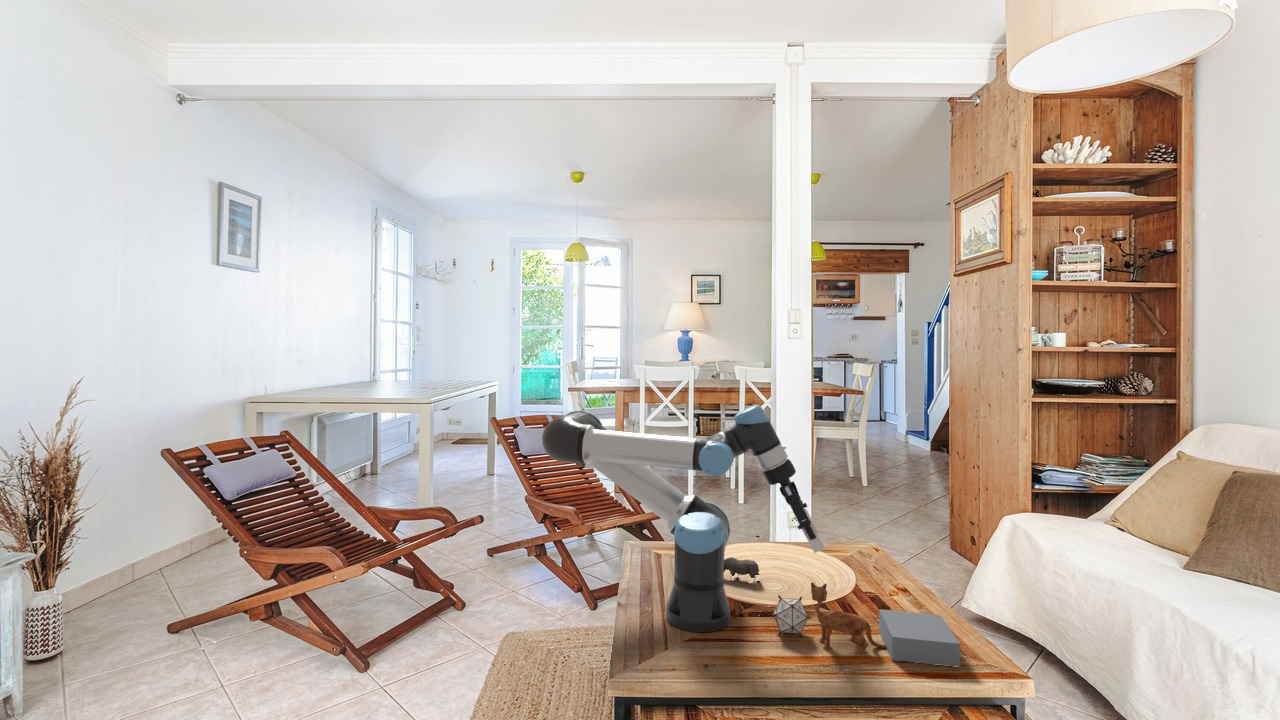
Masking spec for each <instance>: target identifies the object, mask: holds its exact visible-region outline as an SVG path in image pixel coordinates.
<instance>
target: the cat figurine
mask: <svg viewBox="0 0 1280 720" xmlns="http://www.w3.org/2000/svg"><path fill="white" fill-rule="evenodd" d="M827 585H828V584H827V583H824V584H823V585H822V586H817V585H816V584H815V583H814V582H811V583H810V586H811V587H810V592H811V598H812V600H813V601H815V602H817V604H816V605H815V607H814V609H815V611H816V612H817V620H818V622H819V623H820V627H821V628H820V629H821V637H820V638H819V640H818V643H821V644H822V643H823V644H824V643H825V644H824V646H823V648H821V649H822V650H823V651H828V650H829V649H830V646H831V635H832V633H833V631H836V632H839V633H843V634H847V635H850V638H848V639H846V640H847V641H849V642H855V641H856V643H858V645H860V648H859V650H858V653H859V654H858V655H862V653H863V652H865V650H866V649H867V648H868V647H869V643H870V645H871V646H873V647H875V648H879V649H884V648H887V647H886V645H885V644H880V643H878V642H876V641H875V640H873V636H872V626H871V625H870V623H869V622H868V620H866V619H865V618H864V617H862V616H860V615H858V614H855V613H850V612H845V611H839V610H836V611H831V612H824V611H821V610H820V609H821V608H822V607H821V606H822V604H823V602H824V603H825V602H826V601H827V596H828V590H827ZM864 632H865V634H866V638H867V640H868V642H869V643H868V642H867V640H866V638H865V634H863V633H864Z"/></svg>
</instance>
